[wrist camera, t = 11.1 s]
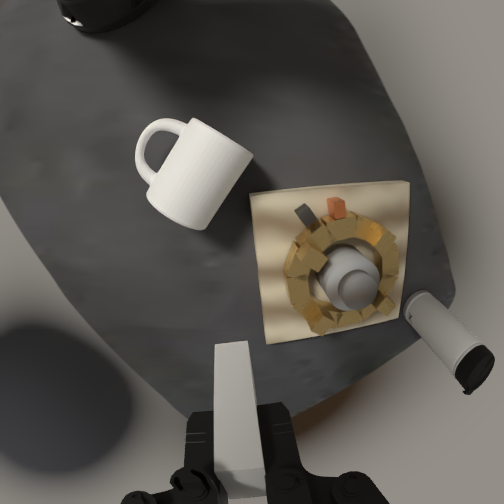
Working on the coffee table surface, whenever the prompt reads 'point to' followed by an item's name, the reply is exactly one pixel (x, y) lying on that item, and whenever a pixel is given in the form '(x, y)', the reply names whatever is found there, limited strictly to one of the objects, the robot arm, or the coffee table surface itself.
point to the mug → (192, 171)
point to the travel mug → (449, 340)
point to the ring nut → (312, 256)
